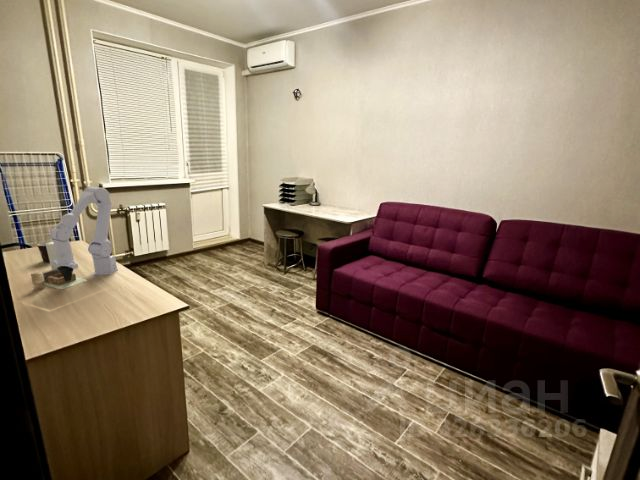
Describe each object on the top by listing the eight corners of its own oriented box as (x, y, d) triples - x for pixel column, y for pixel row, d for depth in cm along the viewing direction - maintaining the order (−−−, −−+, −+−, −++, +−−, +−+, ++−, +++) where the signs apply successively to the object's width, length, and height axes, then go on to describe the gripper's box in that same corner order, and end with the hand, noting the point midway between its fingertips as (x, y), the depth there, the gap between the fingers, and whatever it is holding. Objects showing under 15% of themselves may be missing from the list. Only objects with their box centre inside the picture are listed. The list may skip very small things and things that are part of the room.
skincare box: (76, 268, 178) (71, 240, 174) (65, 273, 172) (60, 244, 168) (61, 267, 179) (56, 239, 175) (50, 272, 173) (44, 243, 168)
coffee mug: (43, 258, 191) (39, 242, 188) (61, 257, 194) (58, 240, 192) (36, 265, 181) (33, 248, 178) (56, 263, 184) (53, 246, 182)
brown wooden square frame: (76, 279, 163) (75, 273, 162) (58, 285, 156) (57, 279, 155) (65, 276, 166) (64, 271, 165) (47, 282, 159) (46, 276, 158)
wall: (67, 276, 167) (65, 266, 166) (45, 283, 158) (43, 273, 157) (65, 275, 168) (63, 266, 166) (43, 282, 159) (41, 272, 157)
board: (87, 281, 163) (87, 280, 163) (61, 290, 153) (61, 289, 153) (67, 276, 169) (67, 274, 169) (40, 284, 158) (40, 283, 158)
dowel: (47, 287, 155) (44, 271, 153) (41, 291, 151) (38, 274, 149) (38, 287, 155) (34, 271, 152) (32, 291, 151) (28, 275, 149)
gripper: (43, 253, 154) (49, 280, 158) (64, 258, 149) (69, 286, 153) (60, 249, 161) (65, 275, 164) (80, 253, 156) (85, 280, 159)
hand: (68, 280), depth 159 cm, fingers closed
